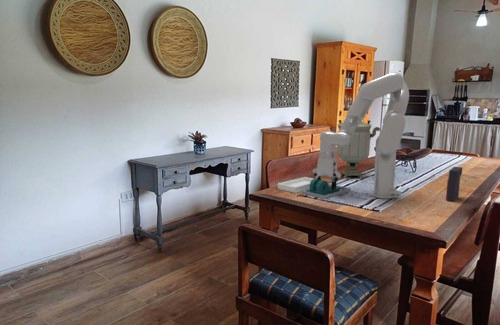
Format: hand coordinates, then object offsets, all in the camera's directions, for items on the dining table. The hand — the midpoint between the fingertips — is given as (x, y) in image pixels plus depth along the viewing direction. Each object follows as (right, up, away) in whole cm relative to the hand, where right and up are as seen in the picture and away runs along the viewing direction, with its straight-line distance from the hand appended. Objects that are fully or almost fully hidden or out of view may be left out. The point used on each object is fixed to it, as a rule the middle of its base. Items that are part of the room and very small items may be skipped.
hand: (326, 187), depth 190 cm
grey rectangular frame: (0, -3, 0) cm, 3 cm away
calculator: (+58, -5, -15) cm, 60 cm away
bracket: (0, -3, 0) cm, 3 cm away
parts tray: (-12, -1, +12) cm, 17 cm away
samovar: (+26, +5, +40) cm, 48 cm away
